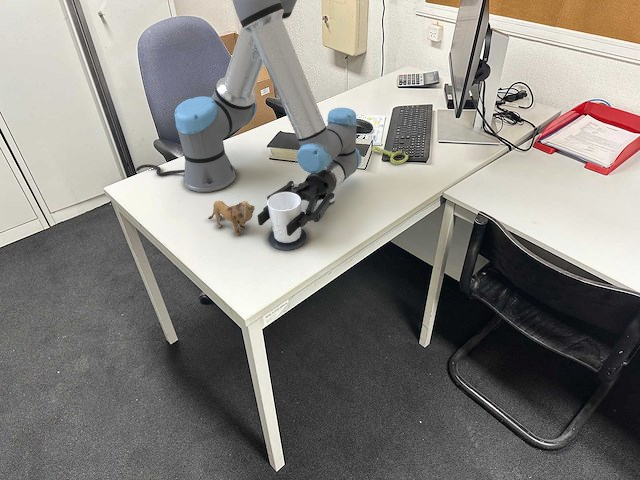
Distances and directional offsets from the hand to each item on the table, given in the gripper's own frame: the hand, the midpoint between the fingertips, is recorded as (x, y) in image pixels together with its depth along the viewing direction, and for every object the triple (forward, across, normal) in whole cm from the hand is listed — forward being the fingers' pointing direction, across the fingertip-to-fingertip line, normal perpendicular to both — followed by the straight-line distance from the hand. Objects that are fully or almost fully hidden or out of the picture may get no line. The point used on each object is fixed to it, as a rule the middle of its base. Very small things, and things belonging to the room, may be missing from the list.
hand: (273, 225), depth 99 cm
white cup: (-5, 0, -6) cm, 8 cm away
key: (-56, -5, -7) cm, 56 cm away
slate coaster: (-5, 0, -7) cm, 9 cm away
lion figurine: (-2, +15, -7) cm, 17 cm away
